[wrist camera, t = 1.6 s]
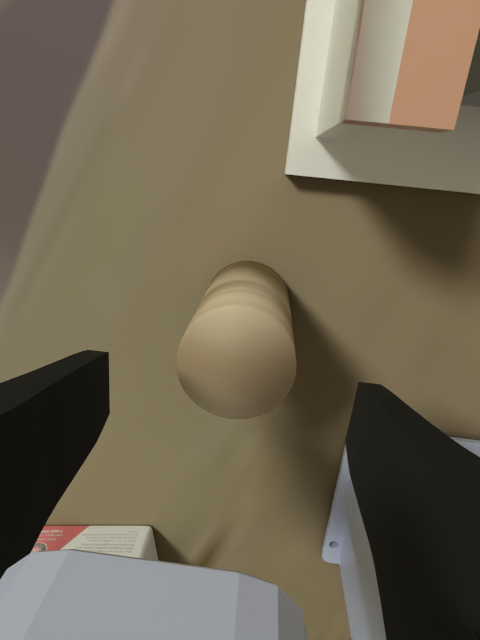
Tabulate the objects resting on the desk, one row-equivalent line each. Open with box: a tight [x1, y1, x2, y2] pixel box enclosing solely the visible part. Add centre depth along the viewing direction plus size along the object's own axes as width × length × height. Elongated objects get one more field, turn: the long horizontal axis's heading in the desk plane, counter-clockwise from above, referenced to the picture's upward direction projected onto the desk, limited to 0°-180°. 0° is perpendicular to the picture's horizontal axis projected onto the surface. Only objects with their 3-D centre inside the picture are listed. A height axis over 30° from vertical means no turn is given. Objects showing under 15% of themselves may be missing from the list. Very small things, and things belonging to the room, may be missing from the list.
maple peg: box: [176, 261, 297, 419], centre depth 17 cm, size 4×4×7 cm
